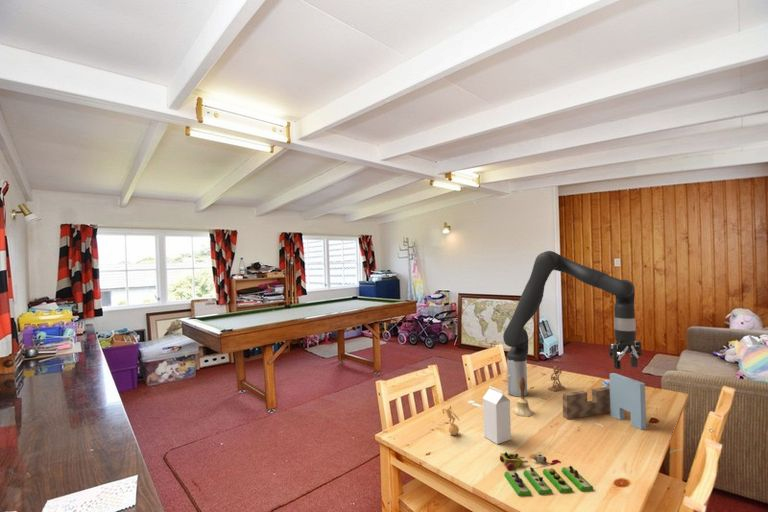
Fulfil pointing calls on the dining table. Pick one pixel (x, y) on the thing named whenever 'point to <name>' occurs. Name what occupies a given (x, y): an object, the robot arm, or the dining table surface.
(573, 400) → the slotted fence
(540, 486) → the toy garden set
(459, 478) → the dining table surface
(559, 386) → the tan statuette
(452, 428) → the figurine
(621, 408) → the blue-gray tapered panel
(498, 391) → the milk carton
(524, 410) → the hand bell
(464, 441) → the dining table surface
